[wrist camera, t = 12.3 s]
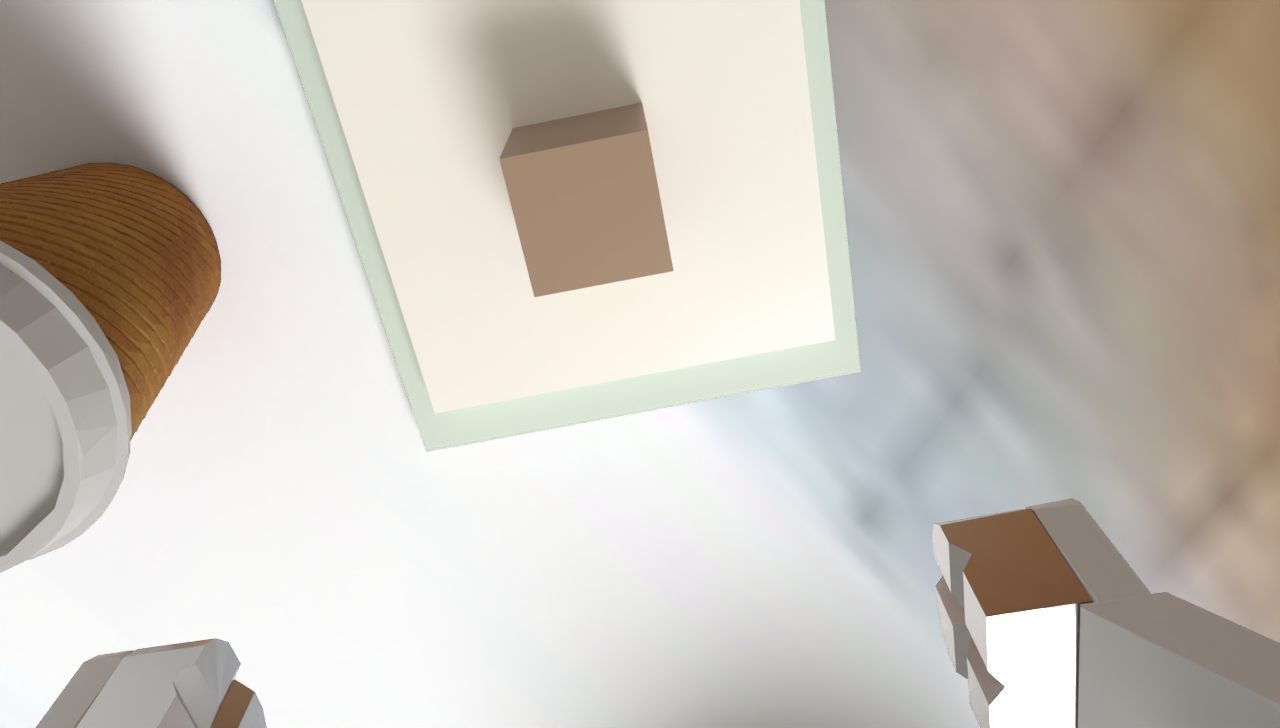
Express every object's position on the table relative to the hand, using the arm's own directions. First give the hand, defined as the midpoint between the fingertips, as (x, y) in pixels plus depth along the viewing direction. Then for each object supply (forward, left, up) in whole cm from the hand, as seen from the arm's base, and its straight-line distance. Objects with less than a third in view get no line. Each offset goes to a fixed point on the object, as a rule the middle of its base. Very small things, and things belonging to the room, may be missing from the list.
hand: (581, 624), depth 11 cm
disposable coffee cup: (+16, 0, -23) cm, 28 cm away
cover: (0, 0, -21) cm, 21 cm away
